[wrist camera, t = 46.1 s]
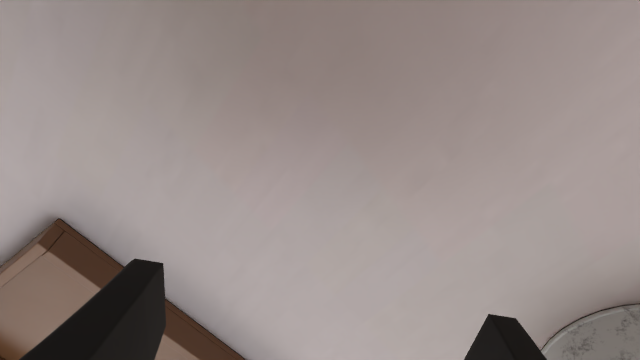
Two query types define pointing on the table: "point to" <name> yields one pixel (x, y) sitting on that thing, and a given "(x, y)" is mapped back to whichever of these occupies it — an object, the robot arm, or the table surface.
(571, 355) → the gray speckled cylinder
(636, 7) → the table surface
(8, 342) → the tray
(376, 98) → the table surface
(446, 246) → the table surface
